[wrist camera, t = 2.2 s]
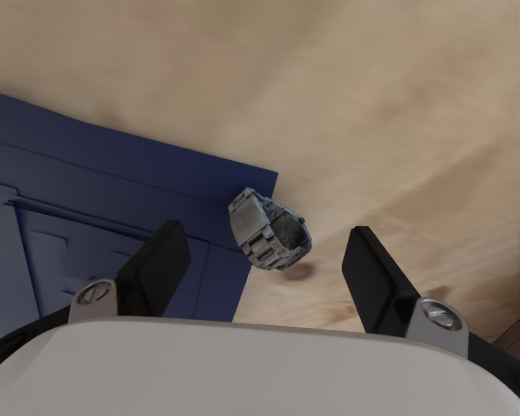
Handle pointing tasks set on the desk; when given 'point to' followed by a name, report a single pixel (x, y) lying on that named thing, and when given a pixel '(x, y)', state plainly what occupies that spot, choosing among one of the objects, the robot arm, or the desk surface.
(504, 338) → the cabinet
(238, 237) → the wristwatch
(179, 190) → the dark blue flat piece
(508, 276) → the desk surface
